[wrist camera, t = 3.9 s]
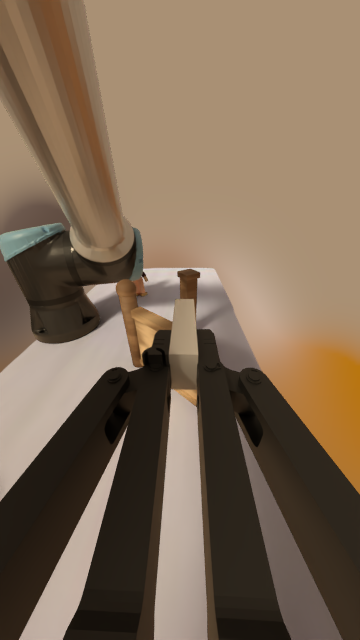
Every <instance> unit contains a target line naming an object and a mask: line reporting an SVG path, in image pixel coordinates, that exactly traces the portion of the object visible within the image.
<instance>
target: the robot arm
mask: <svg viewBox="0 0 360 640" xmlns="http://www.w3.org/2000/svg"><path fill="white" fill-rule="evenodd" d="M0 100H1V102H2V103H3V105H4V107H5V109H6V111H7V112H8V114H9V116H10V118H11V119H12V121H13V123H14V124H15V127H16V128H17V130H18V132H19V133H20V135H21V137H22V139H23V141H24V143H25V144H26V146H27V148H28V150H29V151H30V153H31V155H32V157H33V159H34V160H35V162H36V164H37V166H38V167H39V169H40V171H41V173H42V174H43V176H44V178H45V180H46V182H47V183H48V185H49V187H50V189H51V191H52V192H53V194H54V196H55V198H56V199H57V201H58V203H59V205H60V206H61V208H62V210H63V212H64V214H65V216H66V217H67V219H68V221H69V223H70V224H71V228H70V231H65V227H64V226H63V224H61V223H56V224H50V225H44V226H39V227H33V228H27V229H22V230H17V231H12V232H7V233H4V234H2V235H0V249H1V251H2V254H3V256H4V260H5V262H7V264H8V266H9V268H10V270H11V271H12V273H13V275H14V277H15V279H16V281H17V283H18V285H19V287H20V289H21V291H22V293H23V294H24V296H25V298H26V300H27V302H28V304H29V306H30V317H31V329H32V332H33V334H34V336H35V338H36V339H37V340H38V341H40V342H43V343H62V342H67V341H71V340H74V339H77V338H79V337H82V336H84V335H86V334H88V333H89V332H91V331H92V330H93V329H95V328H96V327H97V325H98V324H99V322H100V316H99V313H98V310H97V309H96V307H95V306H94V305H93V303H92V302H91V301H90V299H89V298H88V297H87V295H86V294H85V292H84V289H83V286H88V285H98V284H108V283H118V282H119V281H120V280H123V279H129V280H131V281H135V280H138V279H140V278H141V276H142V273H143V246H142V240H141V235H140V232H139V230H138V229H136V228H133V227H132V226H131V224H130V222H129V221H128V220H127V219H126V218H125V217H123V214H122V209H121V203H120V198H119V192H118V187H117V181H116V176H115V170H114V165H113V159H112V154H111V148H110V143H109V137H108V132H107V126H106V121H105V115H104V110H103V104H102V99H101V94H100V88H99V82H98V77H97V72H96V66H95V61H94V55H93V50H92V44H91V38H90V33H89V28H88V22H87V16H86V11H85V5H84V0H0ZM142 360H143V367H142V368H140V369H138V370H134V371H130V372H127V370H126V369H124V368H122V367H116V368H112V369H110V370H108V371H106V372H105V373H104V374H103V375H102V376H101V378H100V379H99V380H98V381H97V383H96V384H95V385H94V386H93V387H92V389H91V390H90V391H89V392H88V394H87V395H86V396H85V397H84V399H83V400H82V401H81V402H80V404H79V405H78V406H77V407H76V409H75V410H74V411H73V412H72V413H71V415H70V416H69V417H68V418H67V420H66V421H65V422H64V423H63V425H62V426H61V427H60V428H59V430H58V431H57V432H56V433H55V435H54V436H53V437H52V438H51V439H50V441H49V442H48V443H47V444H46V446H45V447H44V448H43V449H42V451H41V452H40V453H39V454H38V456H37V457H36V458H35V459H34V461H33V462H32V463H31V464H30V465H29V467H28V468H27V469H26V470H25V472H24V473H23V474H22V475H21V477H20V478H19V479H18V480H17V482H16V483H15V484H14V485H13V486H12V488H11V489H10V490H9V491H8V493H7V494H6V495H5V496H4V498H3V499H2V500H1V501H0V640H19V638H20V636H21V634H22V632H23V630H24V628H25V626H26V624H27V622H28V620H29V618H30V616H31V615H32V613H33V611H34V609H35V607H36V605H37V603H38V601H39V599H40V597H41V595H42V593H43V591H44V589H45V587H46V585H47V583H48V581H49V579H50V577H51V575H52V573H53V571H54V569H55V567H56V565H57V563H58V561H59V559H60V557H61V555H62V554H63V552H64V550H65V548H66V546H67V544H68V542H69V540H70V538H71V536H72V534H73V532H74V530H75V528H76V526H77V524H78V522H79V520H80V518H81V516H82V514H83V512H84V510H85V508H86V506H87V504H88V502H89V500H90V498H91V496H92V494H93V493H94V491H95V489H96V487H97V485H98V483H99V481H100V479H101V477H102V475H103V473H104V471H105V469H106V467H107V465H108V463H109V461H110V459H111V457H112V455H113V453H114V451H115V449H116V447H117V445H118V443H119V441H120V439H121V437H122V435H123V433H124V432H125V430H126V428H127V430H126V434H125V438H124V442H123V446H122V449H121V453H120V457H119V461H118V464H117V468H116V472H115V476H114V479H113V483H112V487H111V491H110V494H109V498H108V502H107V506H106V509H105V513H104V517H103V521H102V524H101V528H100V532H99V536H98V539H97V543H96V547H95V551H94V554H93V558H92V562H91V566H90V569H89V573H88V577H87V581H86V584H85V588H84V591H83V595H82V598H81V601H80V604H79V606H78V609H77V611H76V613H75V615H74V617H73V619H72V621H71V622H70V624H69V626H68V628H67V630H66V633H65V635H64V638H63V640H154V610H155V595H156V582H157V569H158V557H159V544H160V531H161V519H162V506H163V493H164V480H165V468H166V455H167V442H168V429H169V417H170V404H171V389H175V390H197V403H196V407H197V415H198V435H199V455H200V475H201V495H202V515H203V535H204V555H205V575H206V595H207V633H208V640H291V638H290V635H289V633H288V631H287V629H286V626H285V624H284V622H283V619H282V615H281V612H280V609H279V605H278V601H277V597H276V593H275V588H274V584H273V580H272V575H271V571H270V567H269V562H268V558H267V553H266V549H265V545H264V540H263V536H262V532H261V527H260V523H259V519H258V514H257V510H256V505H255V501H254V497H253V492H252V488H251V484H250V479H249V475H248V471H247V466H246V462H245V457H244V453H243V449H242V444H241V440H240V436H239V431H238V427H237V423H236V419H237V421H238V423H239V425H240V427H241V429H242V431H243V433H244V435H245V437H246V440H247V442H248V444H249V446H250V448H251V450H252V452H253V454H254V456H255V458H256V460H257V462H258V464H259V467H260V469H261V471H262V473H263V475H264V477H265V479H266V481H267V483H268V485H269V487H270V489H271V491H272V493H273V496H274V498H275V500H276V502H277V504H278V506H279V508H280V510H281V512H282V514H283V516H284V518H285V520H286V523H287V525H288V527H289V529H290V531H291V533H292V535H293V537H294V539H295V541H296V543H297V545H298V547H299V549H300V552H301V554H302V556H303V558H304V560H305V562H306V564H307V566H308V568H309V570H310V572H311V574H312V576H313V579H314V581H315V583H316V585H317V587H318V589H319V591H320V593H321V595H322V597H323V599H324V601H325V603H326V605H327V608H328V610H329V612H330V614H331V616H332V618H333V620H334V622H335V624H336V626H337V628H338V630H339V632H340V635H341V637H342V639H343V640H360V494H359V493H358V492H357V491H356V489H355V488H354V487H353V486H352V484H351V483H350V482H349V481H348V479H347V478H346V477H345V475H344V474H343V473H342V471H341V470H340V469H339V468H338V466H337V465H336V464H335V463H334V461H333V460H332V459H331V458H330V456H329V455H328V454H327V452H326V451H325V450H324V449H323V447H322V446H321V445H320V443H319V442H318V441H317V440H316V438H315V437H314V436H313V435H312V434H311V432H310V431H309V429H308V428H307V427H306V426H305V424H304V423H303V422H302V421H301V419H300V418H299V417H298V416H297V414H296V413H295V412H294V410H293V409H292V408H291V407H290V405H289V404H288V403H287V401H286V400H285V399H284V398H283V396H282V395H281V394H280V393H279V391H278V390H277V389H276V387H275V386H274V385H273V384H272V382H271V381H270V380H269V378H268V377H267V376H266V375H265V374H264V373H263V372H262V371H260V370H258V369H255V368H245V369H243V370H242V371H241V372H236V371H232V370H230V369H228V368H226V367H224V366H223V364H222V363H221V362H220V359H219V355H218V350H217V346H216V341H215V336H214V333H213V332H212V331H211V330H210V329H196V319H195V307H194V299H175V307H174V315H173V323H172V330H158V331H157V332H156V334H155V335H154V340H153V344H152V347H150V348H147V349H146V350H144V351H143V353H142ZM235 417H236V418H235ZM127 426H128V427H127Z"/></svg>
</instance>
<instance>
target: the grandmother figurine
mask: <svg viewBox="0 0 360 640" xmlns="http://www.w3.org/2000/svg"><path fill="white" fill-rule="evenodd" d="M142 277H143V278H144V279H145V281H146V282H147V281H148V279H147V277H146V274H145V273H144V272H143V273H142ZM142 277H141V278H140V279H138V280H135V281H133V283H134V284H135V286H136V296H139V295H140V294H141V293H142V294H141V295H140V296H145V295H147V292H145V289H144V284H143V279H142Z"/></svg>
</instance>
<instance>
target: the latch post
mask: <svg viewBox="0 0 360 640" xmlns="http://www.w3.org/2000/svg"><path fill="white" fill-rule="evenodd" d="M177 273H178V277H180V299H194V307H195V319H196V304H197V278H200V272H197V271H195V270H192V269H187V270H182V271H178V272H177Z"/></svg>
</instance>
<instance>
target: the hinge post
mask: <svg viewBox="0 0 360 640" xmlns="http://www.w3.org/2000/svg"><path fill="white" fill-rule="evenodd" d="M116 292H117V294H118V295H119V300H120V305H121V309H122V314H123V319H124V323H125V328H126V333H127V337H128V342H129V347H130V351H131V356H132V361H133V365H134V366H135V367H143V365H142V364H140V359H141V353H140V348H139V342H138V336H137V331H136V325H135V319H134V318H132V316H131V310H133V309H135V308H138V305H137V298H136V286H135V284H134V283H133V282H132V281H131V280H129V279H123V280H120V281H119V282H118V283H117V285H116Z"/></svg>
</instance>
